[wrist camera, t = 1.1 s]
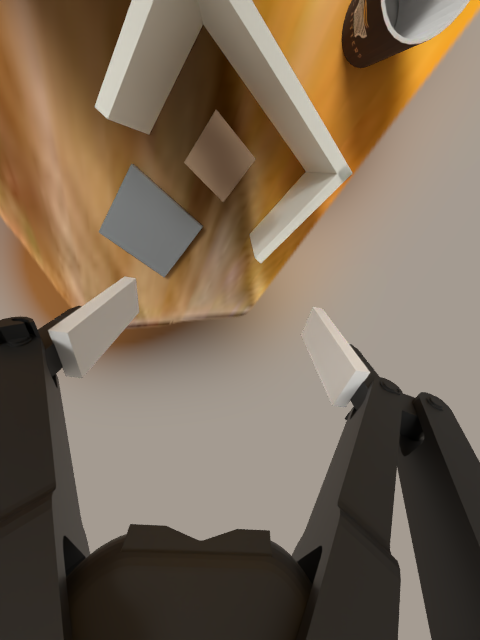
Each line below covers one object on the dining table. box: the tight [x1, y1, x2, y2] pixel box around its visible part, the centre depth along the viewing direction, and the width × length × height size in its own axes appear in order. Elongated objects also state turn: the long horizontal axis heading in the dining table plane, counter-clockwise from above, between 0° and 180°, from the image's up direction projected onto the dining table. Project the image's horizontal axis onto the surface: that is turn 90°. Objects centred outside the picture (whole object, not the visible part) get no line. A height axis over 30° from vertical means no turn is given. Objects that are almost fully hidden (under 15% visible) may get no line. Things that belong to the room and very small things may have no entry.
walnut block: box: [184, 110, 256, 202], centre depth 25 cm, size 5×5×14 cm
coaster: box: [99, 164, 203, 277], centre depth 36 cm, size 13×13×1 cm
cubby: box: [95, 0, 352, 263], centre depth 25 cm, size 14×22×12 cm, turn 47°
